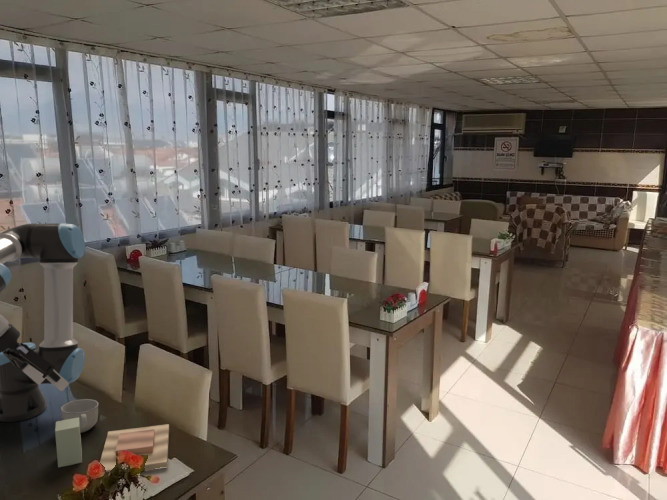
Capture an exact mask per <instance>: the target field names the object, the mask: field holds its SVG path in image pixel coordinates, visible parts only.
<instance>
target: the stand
mask: <svg viewBox="0 0 667 500" xmlns="http://www.w3.org/2000/svg"><path fill="white" fill-rule="evenodd" d="M169 438H170V424H168V423H167V424H166V423H165V424H159V425H158V424H157V425H150V426H144V427H143V426H141V427H136V428H126V429H119V430H111V431H110V430H109V431H107V436H106V439H105V443H104V446H103V450H102V453H101V457H100V460H99V464H100V463H101V464H102V465H103V466H104V467H105V470H106V472H110V471H111V470H112V469H113V468H114V467H115V465H116V454H117V452H118V451H121V450H129V451H131V452H133V453H135V454H138V455H148V459H147V461H146V463H145V467H144V468H145V470H152V469H155V468H160V467H167V468H168V464H167V461H169V460H168V459H169V443H170V442H169V440H170V439H169Z"/></svg>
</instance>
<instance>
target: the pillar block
mask: <svg viewBox="0 0 667 500" xmlns="http://www.w3.org/2000/svg"><path fill="white" fill-rule="evenodd" d="M54 433H55V443H56V444H55V445H56V447H55V448H56V457H57V467H58V468H61V467H66V466H67V467H68V466H72V465H76V464H81V463H83V450H82V438H81V433H80V422H79V417H78V418H73V419H67V420H62V419H61V420H57V421H55V429H54Z"/></svg>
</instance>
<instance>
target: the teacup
mask: <svg viewBox="0 0 667 500" xmlns="http://www.w3.org/2000/svg"><path fill="white" fill-rule="evenodd" d="M60 412H61V413H60V414H61V421H62V420H67V419H73V418H78V417H79V422H80V434H81V433H85V432H87V431H90V430H91V429H92V428H93V427H94V426H95V425H96V423H98V420H99V419H98V417H99V402H98V401H97V400H95V399H90V398H84V399H82V398H81V399H75V400H71V401H69V402H66V403H65V404H63V405H62V406H61V407H60Z"/></svg>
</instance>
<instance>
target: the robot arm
mask: <svg viewBox="0 0 667 500" xmlns="http://www.w3.org/2000/svg"><path fill="white" fill-rule="evenodd" d="M85 251H86V241H85V237H84V234H83V232H82V230H81V229H80V227H78V226H77V225H76V224H73V223H64V222H61V223H32V222H31V223H26V224H21V225H18V226H15V227H11V228H9V229H7V230H5V231H2V232H0V295H1V294H2V293H3V291H4V290H5V289H7V286H8V285H9V283H10V282H11V280H12V272H11V271H10V268H8V267H7V266H6V265H5V263H6V262H7V263H8V262H14V261H17V260H18V259H26V258H28V259H29V258H30V259H31V258H33V259H35V258H36V259H38V260H39V261H38V263H39V265H40V266H42V268H43V270H44V274H43V275H44V276H43V277H44V280H43V281H44V283H43V284H44V285H43V286H44V291H43V292H44V296H43V297H44V300H43V301H44V310H43V311H44V314H43V315H44V317H43V318H44V320H43V321H44V323H43V324H44V325H43V326H44V328H43V330H44V333H43V334H44V337H43V338H44V339H43V340H42V341H41V342H40V343H39V345H38V348H37V346H36V343H35V342H20V343H19V342H18V339H19V338H20V336H21V333H20V331H19V330H18V329H17V328H16V327H15V326H14V325H13V324H11V323H10V322H9V320H7V319H6V318H5V316H4V315H2V314H1V313H0V422H3V423H5V422H6V423H13V422H20V421H25V420H28V419H31V418H35V417H36V416H39V415H40V414H41V413H43V412H44V411H46V409H47V400H46V398H45V396H44V394H43V392H42V389H41V388H40V385H47V384H49V385H50V384H51V385H53V386H54V387H55V388H56V389H57V390H59V391H60V392H63V391H64V390H65V389H66V388H67V387H68V386H69V385H70V384H72V383H74V382H76V381H77V380H78V379H79V378H80V376H81V374H82V371H83V369H84V366H85V360H86V355H85V354H86V353H85V350H84V349H83V348H81V347H79V346H78V345H79V341H77V340H76V339H75V338H74V267H76V266H77V264H79V259H80V258H82V257H83V256H84V254H85Z"/></svg>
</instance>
